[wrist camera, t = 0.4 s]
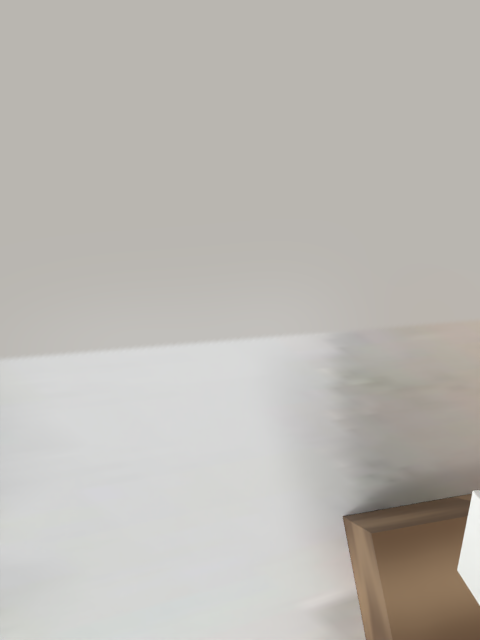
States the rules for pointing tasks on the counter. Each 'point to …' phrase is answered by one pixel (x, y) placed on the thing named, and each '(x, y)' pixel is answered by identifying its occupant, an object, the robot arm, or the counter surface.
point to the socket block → (413, 571)
